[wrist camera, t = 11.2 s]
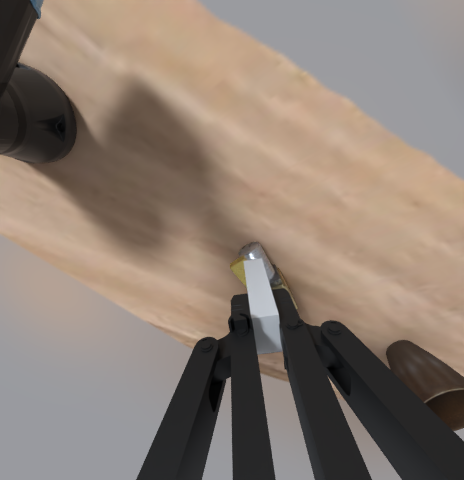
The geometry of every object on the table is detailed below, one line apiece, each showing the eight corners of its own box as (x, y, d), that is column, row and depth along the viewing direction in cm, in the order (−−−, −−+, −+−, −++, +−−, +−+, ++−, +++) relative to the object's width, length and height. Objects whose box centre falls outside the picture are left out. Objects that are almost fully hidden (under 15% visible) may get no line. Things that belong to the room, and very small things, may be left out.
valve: (234, 250, 50) (235, 272, 42) (261, 237, 49) (269, 256, 41) (278, 324, 59) (287, 354, 50) (303, 313, 57) (315, 342, 49)
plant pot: (372, 373, 66) (413, 438, 52) (370, 336, 61) (416, 397, 46) (425, 363, 65) (482, 426, 50) (428, 324, 59) (495, 383, 45)
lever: (294, 312, 45) (296, 318, 44) (275, 323, 46) (277, 329, 45) (246, 252, 40) (247, 256, 39) (226, 265, 41) (226, 270, 39)
